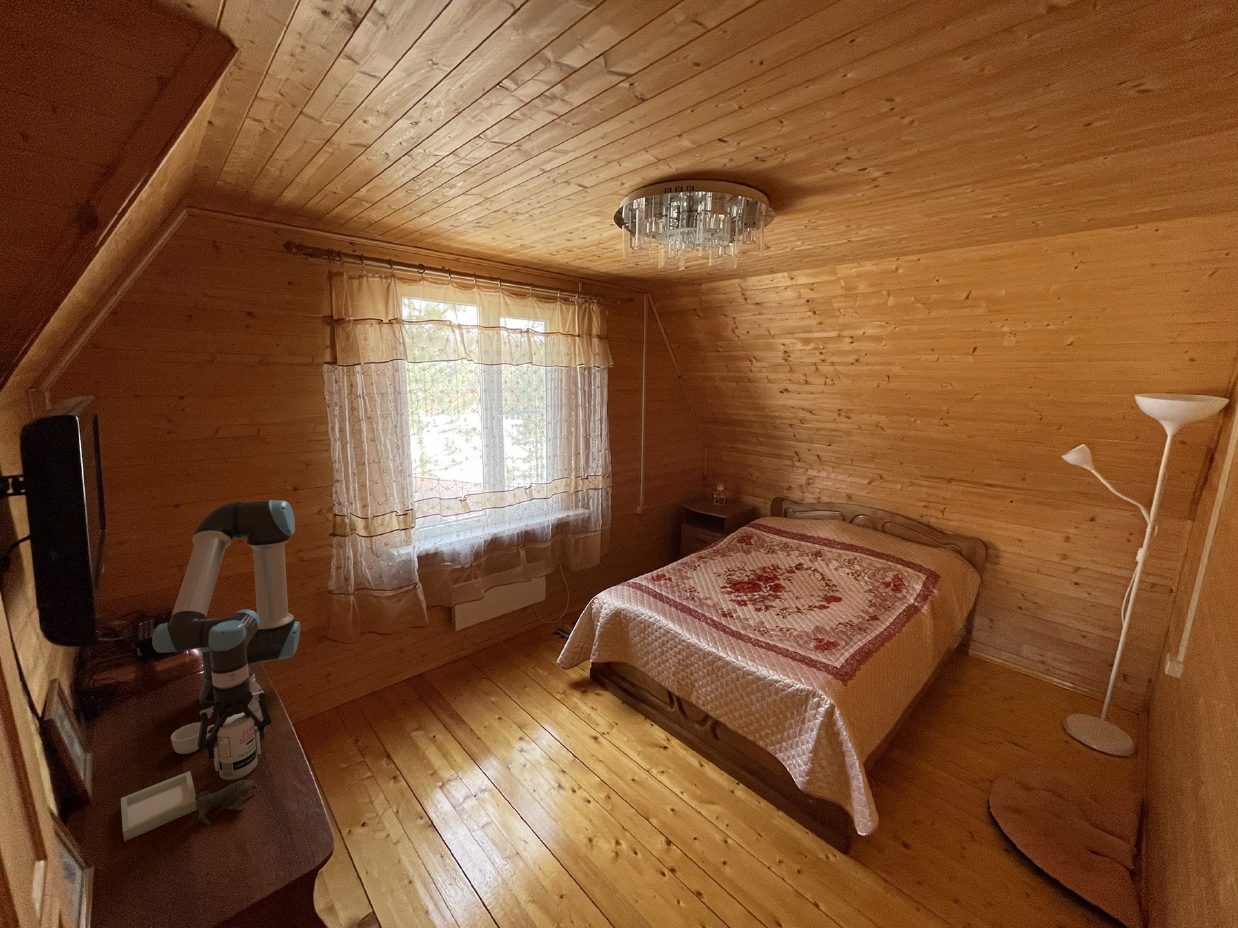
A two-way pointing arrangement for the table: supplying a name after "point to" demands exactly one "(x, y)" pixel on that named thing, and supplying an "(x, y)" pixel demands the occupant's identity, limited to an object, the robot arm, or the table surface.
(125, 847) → the table surface
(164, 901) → the table surface
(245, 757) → the supplement can
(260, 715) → the plastic bottle
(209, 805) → the dog figurine
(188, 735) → the teacup
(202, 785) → the table surface
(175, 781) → the can tray
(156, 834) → the table surface
